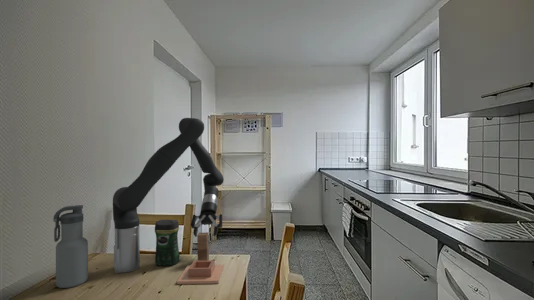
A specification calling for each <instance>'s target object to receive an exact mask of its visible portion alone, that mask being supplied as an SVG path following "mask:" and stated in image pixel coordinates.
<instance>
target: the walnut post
mask: <svg viewBox="0 0 534 300" xmlns="http://www.w3.org/2000/svg"><path fill="white" fill-rule="evenodd" d="M209 235H210V234H209V232H207V231H206V232H198V233H197V237H196V238H197V239H196V240H197V242H196V244H197V245H196V246H197V261H208V260H210V245H209V237H210V236H209Z"/></svg>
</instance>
